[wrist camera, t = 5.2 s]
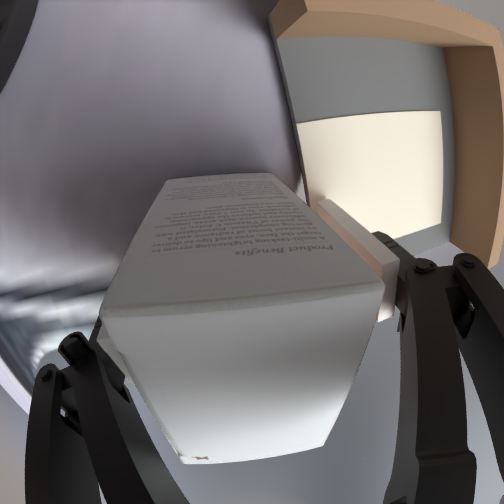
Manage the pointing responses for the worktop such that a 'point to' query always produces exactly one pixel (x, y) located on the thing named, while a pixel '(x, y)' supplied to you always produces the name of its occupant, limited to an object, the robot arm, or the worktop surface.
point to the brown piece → (398, 117)
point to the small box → (240, 318)
